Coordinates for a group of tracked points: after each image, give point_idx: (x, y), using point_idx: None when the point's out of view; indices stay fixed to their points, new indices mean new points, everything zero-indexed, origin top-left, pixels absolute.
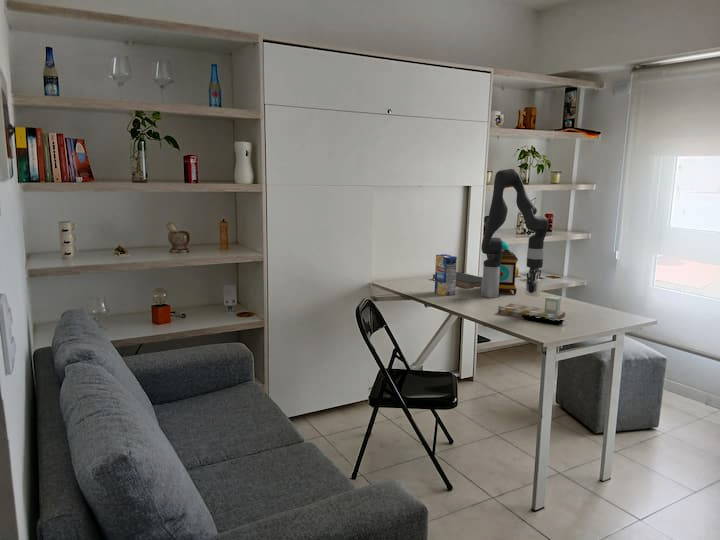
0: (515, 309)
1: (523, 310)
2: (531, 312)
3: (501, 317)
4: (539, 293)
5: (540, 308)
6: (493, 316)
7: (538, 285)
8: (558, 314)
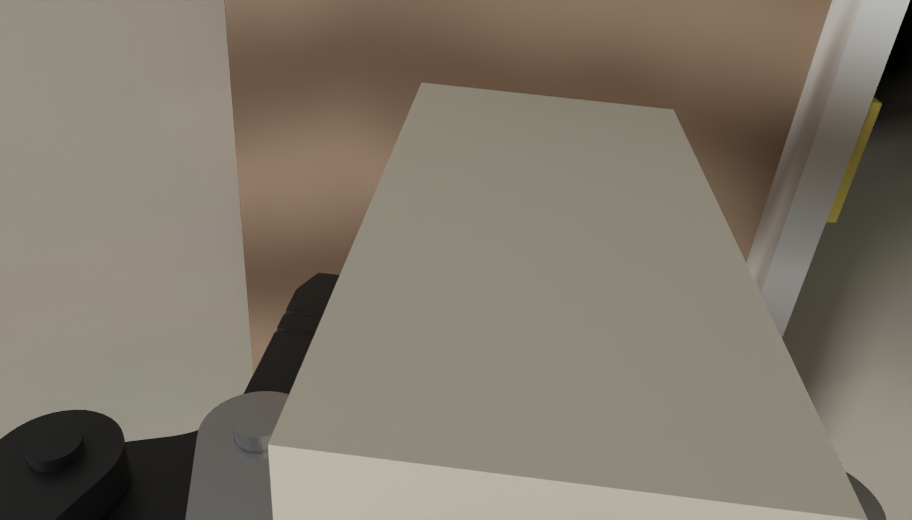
0: (779, 330)
1: (838, 207)
2: (879, 50)
3: (907, 392)
4: (475, 114)
5: (253, 8)
6: (887, 472)
7: (689, 298)
8: None
